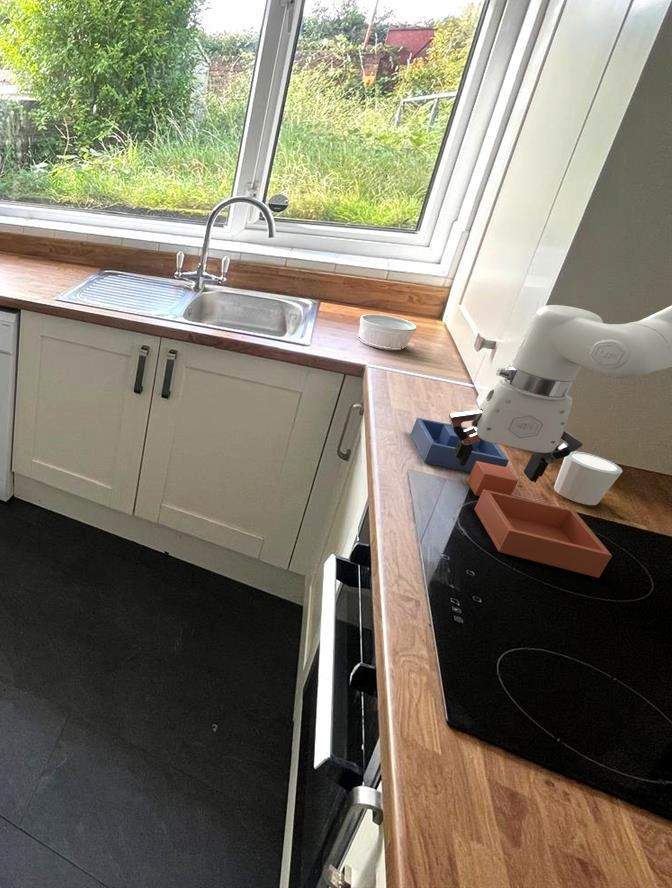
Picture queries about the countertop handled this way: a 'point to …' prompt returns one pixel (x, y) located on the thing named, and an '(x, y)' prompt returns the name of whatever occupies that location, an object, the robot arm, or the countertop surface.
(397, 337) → the ramekin
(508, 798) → the countertop surface
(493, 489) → the terracotta block
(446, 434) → the blue block
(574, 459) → the white cylinder
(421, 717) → the countertop surface
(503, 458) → the blue bin
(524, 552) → the terracotta bin
